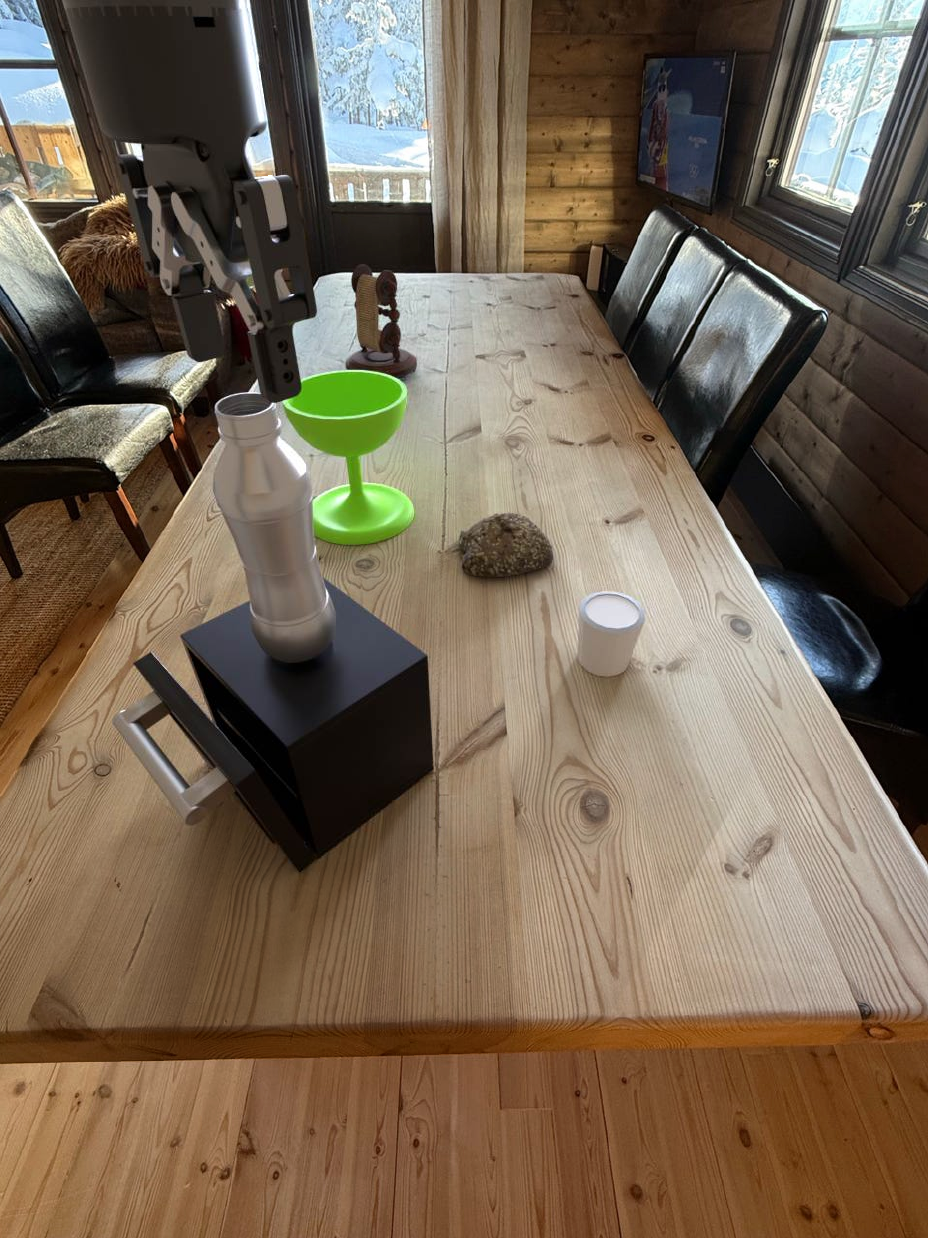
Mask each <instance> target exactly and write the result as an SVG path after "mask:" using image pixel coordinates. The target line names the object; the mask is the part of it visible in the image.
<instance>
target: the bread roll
mask: <svg viewBox="0 0 928 1238" xmlns="http://www.w3.org/2000/svg"><path fill="white" fill-rule="evenodd" d="M550 542H551V541H550V539H549V538H547V536H546V535H545V532H543V531H542V530H541V528H539V527H538V525H536V524H535V523H534V522H532V520H530V518H528V517H527V516H524V515H521V514H519V513H516V512H503V513H494V514H492V515H489V516H488V517H484V518H483V519H481V520H479V521H478V522H476V523H475V524H473V525H472V526H471V527H469V529H468V530H460V535H459V536H458V542H457V544H458V547H457V552H458V554H459V555H460V557H461V569H462V570H464V572H466V573H468V574H469V575H471V576H473V577H486V578H489V577H491V578H492V577H498V578H502V577H503V578H504V577H510V576H516V575H518V576H519V575H522V574H527V573H528V572H531V571H535V570H541V569H544V568H547V567H549V566H550V565H551V564H552V563H553V560H554V552H553V545H551V543H550Z"/></svg>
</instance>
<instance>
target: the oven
mask: <svg viewBox="0 0 928 1238" xmlns="http://www.w3.org/2000/svg"><path fill="white" fill-rule="evenodd" d="M322 577H323V580H324V584H325V587H326V589H327V591H328V593H329V596H330V598H331V600H332V603H333V606H334V609H335V613H336V629H335V635H334V638H333V640H332V641H331V643H330V644H329V646H328V647H327V648H326V650H325V651H324V652H323V653H321V654H320V655H318V656H317V657H315V658H313V659H311V660H308V661H304V662H299V663H287V662H282V661H279V660H277V659H275V658H273V657H271V656H269V655H268V654H266V653H265V652H264V651H263V650H262V649H261V647H260V646H259V644H258V642H257V640H256V638H255V637H254V634H253V632H252V626H251V618H250V599H249V600H248V601H245V602H243V603H241V604H239V605H237V606H235V607H234V608H231V609H229V610H227V611H225V612H224V613H221V614H219V615H217V616H216V617H214V618H211V619H209V620H207V621H205V622H204V623H201V624H199V625H197V626H196V627H193V628H191V629H189V630H187V631H185V632H183V633H181V634H180V636H179V637H180V639H181V642H182V644H183V647H184V650H185V653H186V656H187V658H188V660H189V663H190V665H191V668H192V671H193V673H194V676H195V678H196V681H197V684H198V686H199V690H200V691H201V694H202V697H203V699H204V702H205V705H206V708H207V710H208V712H209V715H210V718H211V720H212V721H213V722H214V723H215V725H216V726H217V727H218V728H219V729H220V730H221V731H222V733H223V734H224V735H225V736H226V737H227V738H228V739H229V740H230V742H231V743H232V744H233V745H234V746H235V747H236V748H237V750H238V751H239V752H240V753H241V754H242V755H243V756H244V758H245V759H246V760H247V761H248V762H249V763H250V764H251V765H252V767H253V768H254V769H255V770H256V772H257V773H258V775H259V776H260V778H261V779H262V781H263V782H264V784H265V785H266V787H267V788H268V790H269V791H270V793H271V794H272V796H273V797H274V799H275V800H276V802H277V803H278V805H279V806H280V808H281V809H282V811H283V812H284V814H285V815H286V817H287V818H288V820H289V821H290V823H291V824H292V826H293V827H294V829H295V830H296V832H297V833H298V835H299V836H300V838H301V839H302V841H303V842H304V844H305V845H306V847H307V848H308V850H309V851H310V852H311V853H313V855H314V856H315V857H316V858H317V859H318V860H320V859H321V858H322V857H324V856H325V855H326V854H327V853H329V852H330V851H331V850H333V849H334V848H335V847H337V846H338V845H339V844H340V843H341V842H343V841H344V840H346V839H347V838H348V837H349V836H351V835H352V834H353V833H355V831H357V830H359V829H360V828H361V827H362V826H364V825H365V824H366V823H368V822H369V821H370V820H371V819H373V818H374V817H375V816H377V815H378V814H379V813H381V811H383V810H384V809H386V808H387V807H389V805H390V804H392V803H393V802H394V801H396V800H397V799H398V798H400V797H401V796H402V795H403V794H405V793H406V792H407V791H408V790H410V789H411V788H412V787H414V786H415V785H416V784H418V783H419V782H420V781H422V780H423V779H424V778H426V777H427V776H428V775H429V774H431V773H432V772H433V771H434V769H435V768H434V767H435V766H434V749H433V748H434V747H433V729H432V709H431V693H430V691H431V689H430V674H429V671H430V670H429V656H428V654H426V653H425V652H424V651H422V650H421V649H420V648H419V647H418V646H416V645H414V643H412V642H410V641H409V640H408V639H406V638H405V637H404V636H403V635H401V634H400V633H398V632H397V631H396V630H394V629H393V628H392V627H390V625H388V624H386V623H385V622H384V621H382V620H381V619H380V618H378V617H377V616H376V615H375V614H373V613H372V612H370V611H369V610H368V609H367V608H366V607H364V606H363V605H362V604H360V603H359V602H357V601H356V600H354V598H352V597H351V596H349V595H347V594H346V593H345V592H344V591H342V590H341V589H340V588H339V587H337V586H336V585H335V584H333V583H332V582H331V581H329V580H328V579H327V578H326V577H324V576H322Z"/></svg>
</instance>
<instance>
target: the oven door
mask: <svg viewBox="0 0 928 1238" xmlns="http://www.w3.org/2000/svg"><path fill="white" fill-rule="evenodd" d="M132 665H133V666H134V667H135V668H136V670H137V671H138V672H139V673H140V675H141V676H142V678H143V679H144V680H145V681H146V683H147V684H148V686H149V687H150V688H151V689H152V691H151V692H150V693H148V694H147V695H145V696H144V697H142V698H141V699H140V700H138V701H136V702H135V703H133V704H132V705H130V706H129V707H127V708H126V709H123V710H120V711H118V712H117V713H116V714H115V715H114V716H113V717H112V720H111V721H112V722H111V723H112V725H113V726H114V728H115V729H116V731H117V732H118V733H119V735H120V737H122V739H123V740H124V742H125V743H126V744H127V745H128V747H129V748H130V750H131V751H132V753H133V754H134V755H135V756H136V758H137V759H138V761H139V762H140V764H141V765H142V766H143V768H144V769H145V770H146V772H147V773H148V774H149V776H150V777H151V779H152V780H153V781H154V783H155V784H156V786H157V787H158V788H159V790H160V791H161V792H162V794H163V796H165V798H166V799H167V801H168V802H169V803H170V804H171V806H172V807H173V809H174V810H175V812H176V813H177V814H178V815H179V817H180V818H181V820H182V821H183V822H184V824H185V825H187V826H188V827H189V826H190V827H191V826H195V825H198V824H200V823H201V822H202V821H203V820H204V819H205V818H206V816H207V814H209V813H210V812H211V811H212V810H214V809H215V808H217V806H219V805H220V804H221V803H222V802H223V801H225V800H226V799H227V798H229V797H231V795H232V796H233V797H234V799H235V800H236V802H237V803H238V804H239V805H240V806H241V807H242V808H243V810H244V811H245V812H246V813H247V815H248V817H250V818H251V820H252V821H253V822H254V823H255V825H257V827H258V828H259V829H260V831H261V832H262V833H263V834H264V835H265V836H266V838H267V839H268V840H269V842H270V843H271V844H272V846H274V845H275V846H276V848H278V849H279V850H280V852H281V853H282V854H283V855H284V857H285V858H286V859H287V860H288V862H289V863H290V864H291V866H293V868H294V869H295V870H296V872H297V873H299V874H301V873H303V871H305V870H306V869H307V868H308V867H309V866H311V864H313V863H314V862H315V861H316V859H315V857H314V856H313V855H314V854H312V851H311V850H310V849H309V848H308V846H307V845H306V844H305V843H304V842H303V841H302V839H301V838H300V836H299V835H298V833H297V832H296V830H295V829H294V827H293V826H292V824H291V823H290V821H289V820H288V818H287V817H286V815H285V814H284V812H283V811H282V809H281V808H280V806H279V805H278V803H277V802H276V800H275V799H274V797H273V796H272V794H271V793H270V791H269V790H268V788H267V787H266V785H265V784H264V782H263V781H262V779H261V778H260V776H259V775H258V773H257V772H256V770H255V769H254V768H253V767H252V765H251V764H250V763H249V762H248V761H247V760H246V759H245V758H244V756H243V755H242V754H241V753H240V752H239V751H238V750H237V748H236V747H235V746H234V745H233V744H232V743H231V742H230V740H229V739H228V738H227V737H226V736H225V735H224V734H223V733H222V731H221V730H220V729H219V728H218V727H217V726H216V725H215V723H214V722H213V720H212V718H211V717H209V716H208V714H207V713H206V712H205V711H204V710H203V708H202V707H201V706H200V705H199V704H198V703H197V702H196V701H195V700H194V698H193V697H192V696H191V695H190V694H189V693H188V691H187V690H186V689H185V688H184V687H183V686H182V684H181V683H179V681H178V680H177V679H176V678H175V677H174V676H173V675H172V674H171V672H170V671H169V670H168V669H167V668H166V667H165V665H164V664H163V663H162V662H161V661H160V659H159V658H158V657H157V656H156V655H155V654H154V653H153V651H150V652H148V653H146V654H145V655H144V656H142V657H140V658H138V659H137V660H135V661H134V662H133V663H132ZM167 716H170V718H171V719H172V721H174V723H175V724H176V725H177V727H178V728H179V729H180V731H181V732H182V733H183V735H184V736H185V738H187V740H188V741H189V743H190V744H191V745H192V746H193V748H194V749H195V750H196V752H197V753H198V754H199V755H200V757H201V758H202V760H203V761H204V763H205V764H207V766H208V768H210V771H209V772H207V773H206V774H205V775H204V776H202V777H201V778H200V779H198V780H197V781H196V782H194V783H193V784H192V785H190V784H189V783H188V782H187V781H186V780H185V779H184V777H183V775H182V774H181V773H180V772H179V770H178V769H177V768H176V767H175V765H174V764H173V763H172V761H171V760H170V758H169V757H168V756H167V755H166V754H165V752H164V751H163V750H162V748H161V747H160V746H159V744H158V743H157V742H156V740H155V739H154V738H153V737H152V734H150V733H149V732H148V731H147V730H149V729H150V728H152V727H153V726H154V725H156V724H157V723H159V722H160V721H162V720H163V719H164V718H166V717H167Z"/></svg>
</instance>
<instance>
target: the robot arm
mask: <svg viewBox="0 0 928 1238" xmlns="http://www.w3.org/2000/svg"><path fill="white" fill-rule="evenodd" d="M61 2H62V4H63V7H64V11H65V14H66V18H67V21H68V24H69V27H70V31H71V35H72V38H73V42H74V45H75V49H76V51H77V55H78V58H79V61H80V66H81V69H82V71H83V76H84V79H85V82H86V85H87V89H88V92H89V96H90V99H91V102H92V105H93V109H94V112H95V116H96V119H97V122H98V125H99V128H100V130H101V131H102V132H103V134H104V135H105V136H107V137H108V138H109V139H111V140H112V141H116V142H119V143H125V144H137V145H140V149H141V152H138V153H136V152H135V153H128V154H127V153H126V154H118V155H116V157H115V162H116V169H117V171H118V175H119V178H120V181H121V185H122V189H123V192H124V196H125V200H126V204H127V207H128V211H129V214H130V218H131V222H132V226H133V229H134V232H135V237H136V241H137V245H138V247H139V252H140V255H141V258H142V259H141V260H142V262H143V267H144V269H145V271H146V272H147V274H148V276H149V277H151V278H157V277H159V280H160V285H161V287H162V289H163V291H164V292H165V294H166V295H167V296H172V297H171V300H172V304H173V307H174V312H175V315H176V318H177V322H178V325H179V329H180V332H181V336H182V340H183V344H184V347H185V350H186V354H187V357H188V358H190V359H191V360H193V361H195V362H197V363H204V362H208V361H212V360H215V359H219V358H222V357H223V356H224V355H225V353H226V345H225V340H224V336H223V333H222V329H221V325H220V320H219V316H218V311H217V308H216V307H217V306H216V303H215V299H214V294H213V292H212V291H211V290H209V289H208V288H209V287H210V284H211V277H212V280H213V281H214V283H215V284H216V287H217V288H218V289H219V290H220V291H221V292H224V293H226V294H229V295H230V296H231V297H232V299H233V300H234V302H235V305H236V307H237V308H238V311H239V313H240V314H241V317H242V319H243V321H244V323H245V324H246V327H247V328H248V330H249V331H247V332H246V334H247V337H248V342H249V347H250V352H251V356H252V361H253V365H254V371H255V374H256V381H257V384H258V388H259V389H258V390H259V393H260V394H261V396H262V397H263V398H264V399H266V400H268V401H269V402H271V403H275V404H278V403H280V402H281V403H282V401H284V400H287V399H290V398H293V397H296V396H298V395H299V394H300V392H301V389H302V385H301V379H302V378H301V373H300V368H299V363H298V356H297V351H296V344H295V338H294V325H295V324H296V323H299V322H303V321H306V320H310V319H314V318H316V317H317V314H318V308H317V307H318V306H317V301H316V295H315V289H314V284H313V278H312V272H311V267H310V262H309V256H308V255H309V254H308V249H307V244H306V238H305V233H304V227H303V221H302V216H301V210H300V203H299V198H298V192H297V187H296V184H295V182H294V180H293V179H292V178H291V176H289V175H287V174H284V175H277V176H274V175H268V176H260V177H256V175H255V172H254V170H253V168H252V167H253V166H252V164H251V162H250V158H249V154H248V152H247V143H248V141H249V139H250V138H255V137H258V136H260V135H262V134H264V132H266V129H267V126H268V116H267V109H266V103H265V97H264V90H263V85H262V79H261V71H260V67H259V59H258V54H257V48H256V40H255V35H254V28H253V23H252V15H251V10H250V3H249V0H61ZM273 236H274V237H273ZM285 269H287V270H288V274H289V279H290V284H291V290H292V294H291V292H290V290H289V287H288V286H287V284H286V281H285V280H284V276H283V275H282V272H283V270H285ZM250 287H251V288H252V287H254V289H255V293H256V297H255V295H254V294H253V292H252V289H251V288H250ZM206 288H207V289H206ZM256 299H257V300H256Z"/></svg>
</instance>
